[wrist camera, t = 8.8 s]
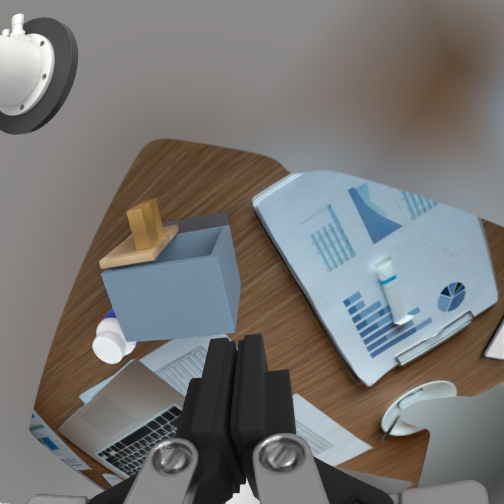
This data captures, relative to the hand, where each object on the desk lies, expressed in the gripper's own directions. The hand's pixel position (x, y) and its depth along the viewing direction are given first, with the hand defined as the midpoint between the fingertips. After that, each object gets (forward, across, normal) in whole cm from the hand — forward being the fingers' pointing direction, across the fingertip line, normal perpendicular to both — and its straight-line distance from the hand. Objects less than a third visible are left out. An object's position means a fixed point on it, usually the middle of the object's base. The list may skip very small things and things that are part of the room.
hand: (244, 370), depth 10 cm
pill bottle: (+29, +20, +12) cm, 37 cm away
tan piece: (+28, +13, -1) cm, 31 cm away
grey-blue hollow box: (+29, +10, +6) cm, 31 cm away
